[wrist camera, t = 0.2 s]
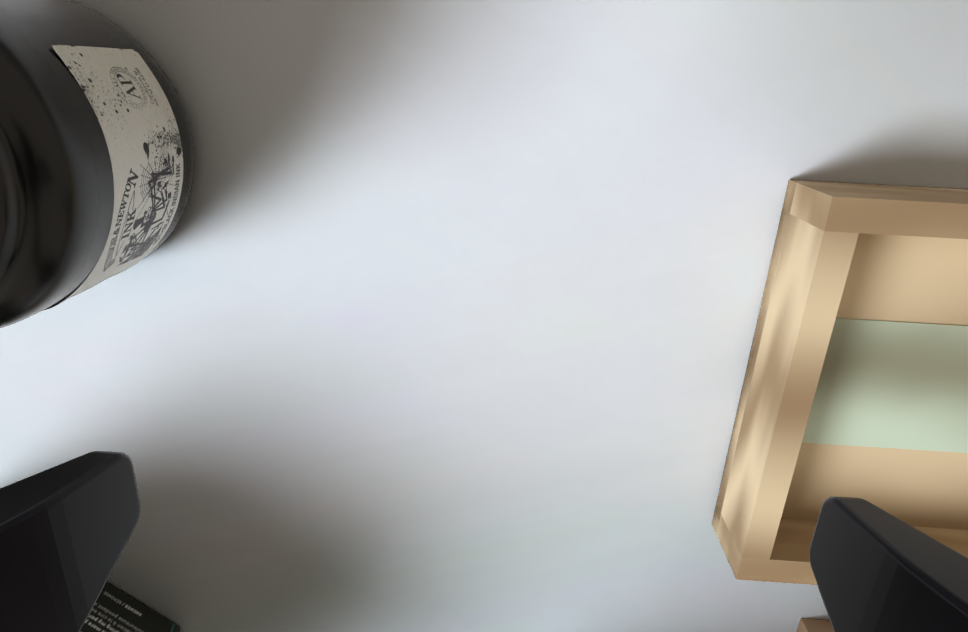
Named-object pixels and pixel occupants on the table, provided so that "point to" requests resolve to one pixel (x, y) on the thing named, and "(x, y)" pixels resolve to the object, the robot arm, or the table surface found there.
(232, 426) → the table surface
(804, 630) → the brown wooden block
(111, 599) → the tampon box
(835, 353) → the wooden tray
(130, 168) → the ink bottle
